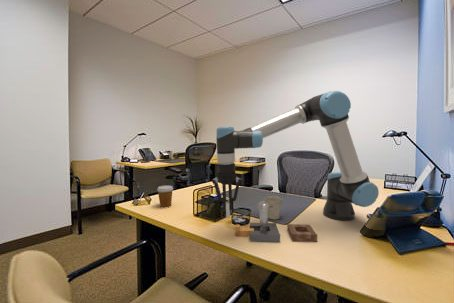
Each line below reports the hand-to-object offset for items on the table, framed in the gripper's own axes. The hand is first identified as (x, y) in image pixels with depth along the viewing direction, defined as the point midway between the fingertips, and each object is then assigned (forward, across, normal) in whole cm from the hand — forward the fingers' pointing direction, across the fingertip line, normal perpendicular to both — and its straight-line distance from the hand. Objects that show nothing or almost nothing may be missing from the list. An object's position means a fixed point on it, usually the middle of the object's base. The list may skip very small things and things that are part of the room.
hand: (228, 216), depth 97 cm
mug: (+9, -20, -21) cm, 30 cm away
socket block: (+9, -15, 0) cm, 17 cm away
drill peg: (+9, -15, 0) cm, 17 cm away
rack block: (+9, -31, 0) cm, 32 cm away
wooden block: (+8, -7, 0) cm, 11 cm away
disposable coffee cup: (+8, +41, -36) cm, 55 cm away
